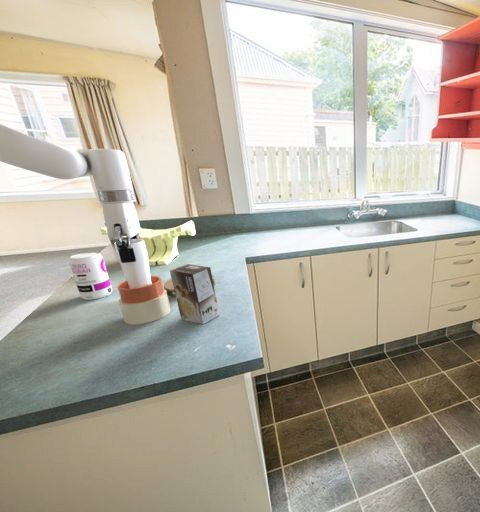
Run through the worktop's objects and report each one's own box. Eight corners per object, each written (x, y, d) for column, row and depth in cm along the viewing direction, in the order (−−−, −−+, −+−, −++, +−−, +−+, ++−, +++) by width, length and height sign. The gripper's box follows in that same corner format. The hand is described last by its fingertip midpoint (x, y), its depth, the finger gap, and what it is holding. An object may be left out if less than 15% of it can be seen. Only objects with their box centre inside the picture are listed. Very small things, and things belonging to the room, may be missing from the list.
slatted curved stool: (199, 253, 152) (193, 219, 146) (188, 263, 137) (180, 225, 132) (131, 256, 145) (122, 220, 139) (111, 267, 130) (100, 228, 125)
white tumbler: (121, 292, 87) (107, 243, 83) (145, 283, 94) (134, 237, 89) (137, 295, 85) (124, 245, 81) (161, 286, 91) (149, 239, 87)
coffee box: (220, 314, 93) (212, 266, 88) (203, 325, 87) (193, 274, 82) (197, 310, 95) (188, 263, 90) (179, 319, 89) (168, 270, 84)
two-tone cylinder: (118, 327, 85) (111, 307, 83) (131, 309, 95) (126, 291, 93) (166, 319, 89) (161, 300, 87) (174, 303, 99) (170, 285, 97)
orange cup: (121, 326, 86) (111, 291, 82) (133, 310, 95) (124, 278, 91) (164, 319, 90) (156, 286, 86) (171, 304, 99) (164, 274, 95)
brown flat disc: (223, 286, 113) (222, 278, 113) (177, 301, 101) (176, 293, 100) (202, 277, 122) (200, 270, 121) (157, 290, 109) (155, 282, 108)
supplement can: (113, 288, 110) (101, 250, 105) (112, 296, 104) (100, 255, 99) (82, 294, 105) (69, 254, 100) (80, 303, 99) (66, 260, 94)
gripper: (112, 193, 87) (127, 251, 92) (84, 201, 72) (104, 269, 77) (143, 192, 90) (156, 248, 95) (123, 199, 75) (140, 265, 80)
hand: (133, 257), depth 86 cm, fingers closed on white tumbler, 6 cm apart
